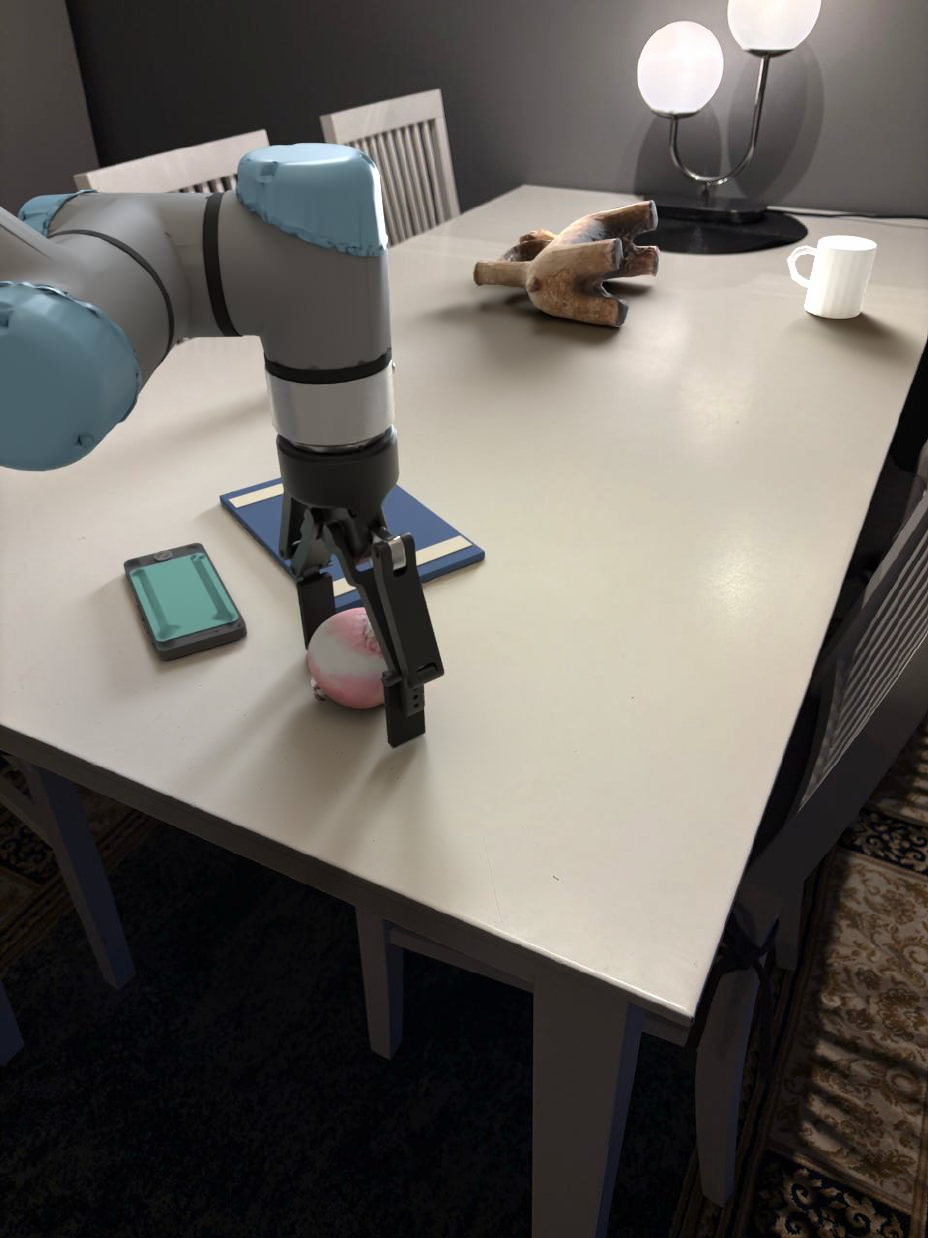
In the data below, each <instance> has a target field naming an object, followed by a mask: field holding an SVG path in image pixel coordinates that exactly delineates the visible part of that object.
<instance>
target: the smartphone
mask: <svg viewBox="0 0 928 1238" xmlns="http://www.w3.org/2000/svg"><path fill="white" fill-rule="evenodd" d="M122 566H123V569H124V572H125V575H126V578H127V580H128V583H129V585H130V588H131V590H132V593H133V595H134V598H135V600H136V608H137V611H138V614H139V616H140V619H141V621H142V622H143V626H144V629H145V631H146V634H147V636H148V639H149V642H150V644H151V646H153V647H154V648H155V650H156V653H157V655H158V658H159V659H160V660H162V661H170V660H173V659H177V658H179V657H180V658H181V657H183V656H186V655H190V654H193V653H196V652H200V651H204V650H206V649H210V648H213V647H217V646H220V645H224V644H227V643H230V642H233V641H237V640H240V639H241V640H242V639H243V638H245V637H246V636H247V635H248V628H247V624H246V621H245V619H244V618H243V615H242V614H241V612H240V611H239V609H238V607H237V605H236V603H235V601H234V599H233V598H232V596H231V594H230V592H229V590H228V588H227V587H226V585H225V583H224V581H223V579H222V578H221V576H220V574H219V572H218V571H217V568H216V567H215V566H214V563H213V561H212V559H211V558H210V556H209V554H208V552H207V550H206V548H205V547H204V545H203V543H201V542H192V543H189V544H186V545H181V546H177V547H174V548H170V549H164V550H159V551H157V552H153V553H150V554H146V555H142V556H137V557H133V558H129V559H126V560H125V561H124V562H123V563H122Z"/></svg>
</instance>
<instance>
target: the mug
mask: <svg viewBox="0 0 928 1238" xmlns="http://www.w3.org/2000/svg"><path fill="white" fill-rule="evenodd" d="M877 251H878V244H877V243H875V242H874V241H873V240H870V239H867V238H863V237H859V236H853V235H852V236H850V235H830V236H825V237H823V238H821V239H819V240H818V244H817V248H813V247H811V246H808V245H805V246H801V247H797V248H795V250H793V252H792V253H791V254H790V256H788V258H787V259H786V263H787V265H788V270H789V273H790V274H789V275H790V277H791V279H792V280H793V281H795V282H796V283H797V284H799V285H800V286H801V287H805V288H808V289H807V294H806V298H805V302H804V309H805V311H807V312H808V313H810V314H812V315H814V316H816V317H817V316H818V317H820V318H826V319H835V320H844V319H853V318H856V317H858V316H859V315H860V314H861V313H862V308H863V305H864V301H865V297H866V293H867V289H868V286H869V282H870V277H871V274H872V270H873V266H874V262H875V259H876V258H875V257H876V254H877ZM807 254H808V255H809V254H810V255H812V256H815V257H814V261H813V267H812V270H811V274H810V280H809V279H806V278H805V277H803V276H801V275H800V274H798V270H797V267H796V263H795V262H796V261H797V259H798V258H799V257H800V256H802V255H807Z"/></svg>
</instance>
